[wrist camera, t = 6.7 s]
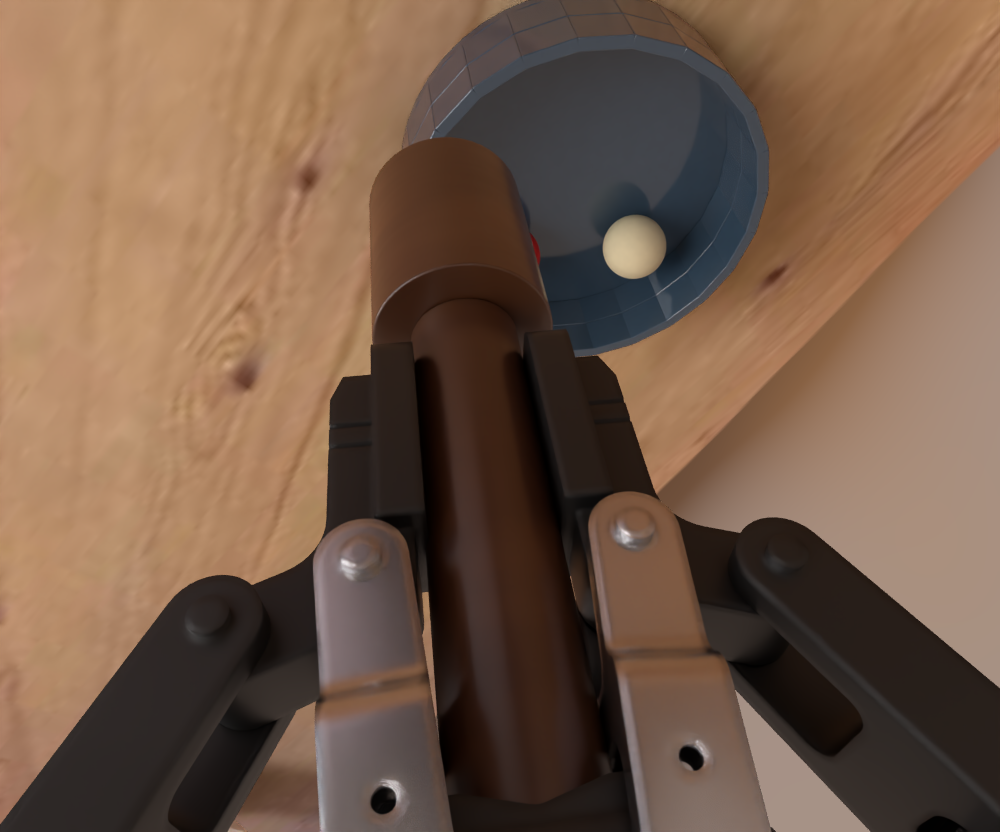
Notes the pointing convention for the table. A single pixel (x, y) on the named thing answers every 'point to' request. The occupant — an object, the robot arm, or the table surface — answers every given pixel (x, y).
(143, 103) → the table surface
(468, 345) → the brown stepped wooden peg
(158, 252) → the table surface
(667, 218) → the bowl
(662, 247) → the cream ball
